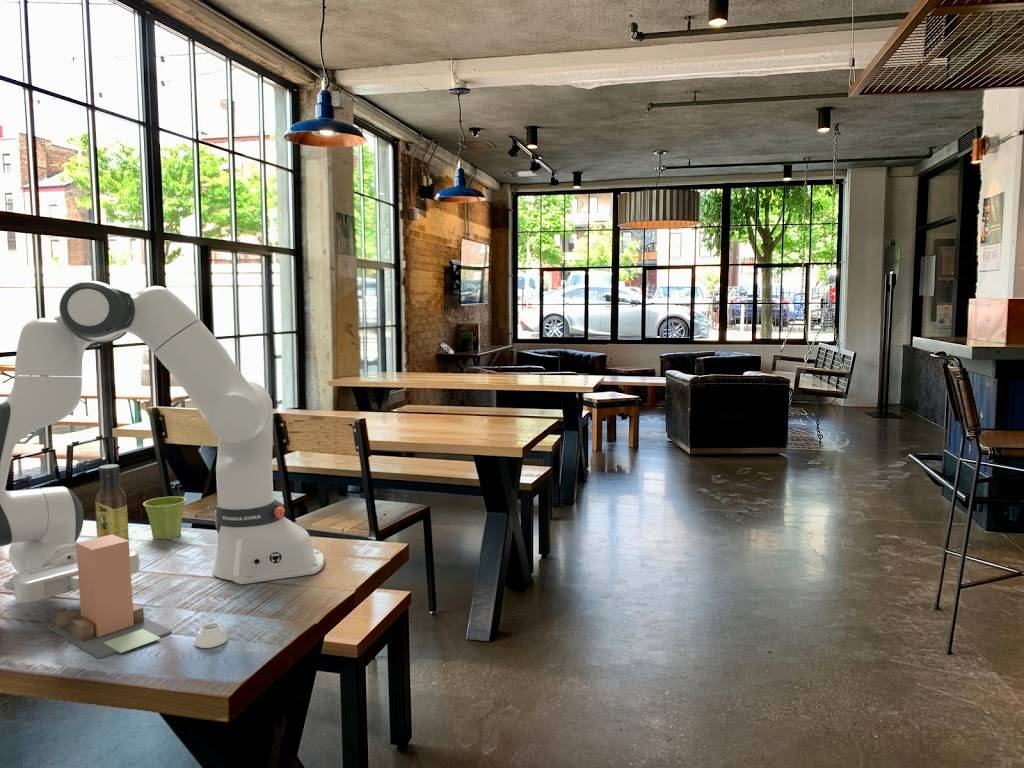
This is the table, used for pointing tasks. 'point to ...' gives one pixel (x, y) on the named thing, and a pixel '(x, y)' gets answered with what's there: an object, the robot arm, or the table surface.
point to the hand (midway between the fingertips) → (97, 583)
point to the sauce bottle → (111, 504)
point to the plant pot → (165, 516)
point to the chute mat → (117, 638)
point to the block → (105, 583)
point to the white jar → (210, 636)
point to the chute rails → (86, 622)
